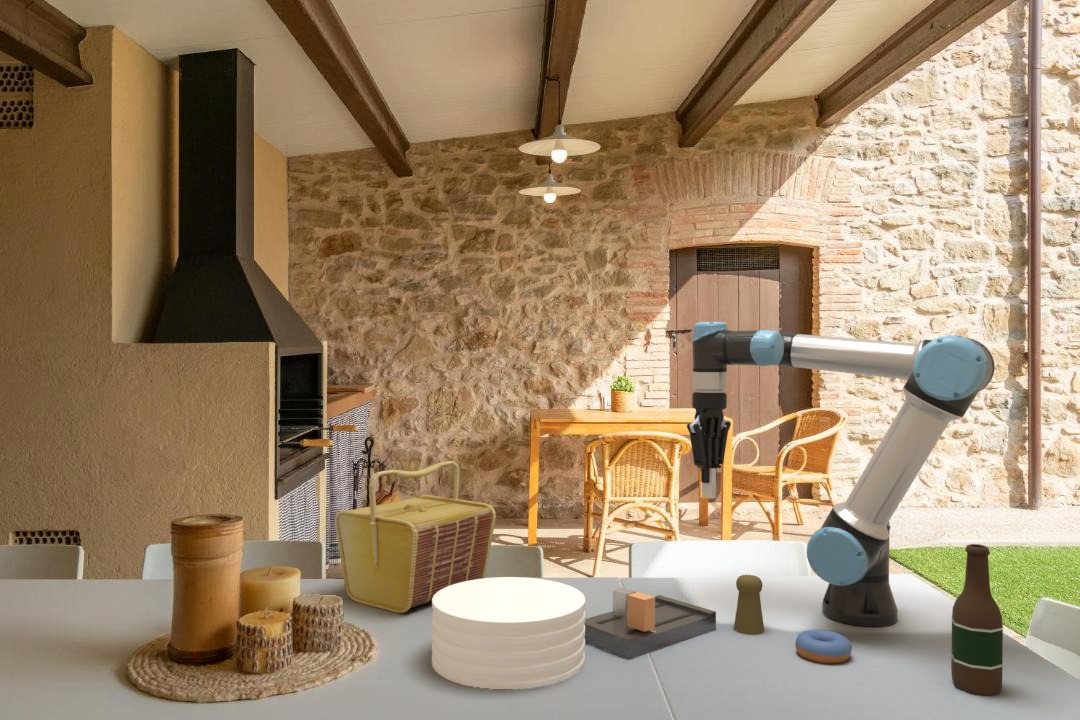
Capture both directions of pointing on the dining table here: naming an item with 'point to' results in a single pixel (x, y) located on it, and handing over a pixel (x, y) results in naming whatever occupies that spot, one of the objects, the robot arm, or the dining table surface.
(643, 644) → the slider panel
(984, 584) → the beer bottle
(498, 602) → the plate stack
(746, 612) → the cork
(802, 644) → the doughnut
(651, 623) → the fader
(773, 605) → the dining table surface
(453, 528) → the picnic basket
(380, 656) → the dining table surface
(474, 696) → the dining table surface
